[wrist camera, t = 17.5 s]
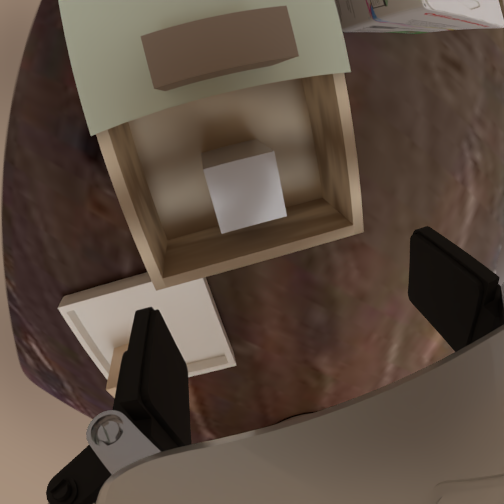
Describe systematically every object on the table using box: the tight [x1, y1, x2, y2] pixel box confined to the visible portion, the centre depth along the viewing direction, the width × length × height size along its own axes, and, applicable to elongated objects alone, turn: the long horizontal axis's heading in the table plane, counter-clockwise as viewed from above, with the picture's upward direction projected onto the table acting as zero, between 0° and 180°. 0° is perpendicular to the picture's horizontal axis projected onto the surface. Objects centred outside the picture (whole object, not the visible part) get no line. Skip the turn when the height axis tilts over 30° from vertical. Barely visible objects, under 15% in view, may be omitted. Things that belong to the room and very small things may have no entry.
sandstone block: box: [106, 343, 129, 398], centre depth 30 cm, size 4×4×6 cm
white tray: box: [58, 272, 236, 380], centre depth 31 cm, size 13×15×2 cm
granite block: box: [201, 139, 287, 234], centre depth 23 cm, size 4×4×6 cm
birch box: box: [96, 73, 364, 291], centre depth 22 cm, size 13×16×7 cm
